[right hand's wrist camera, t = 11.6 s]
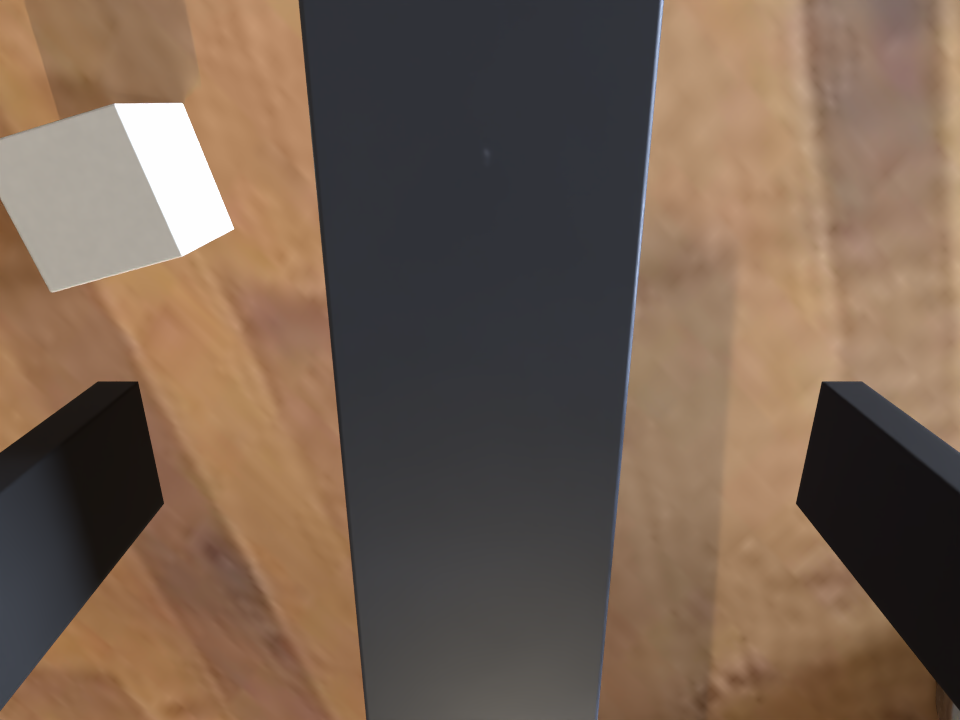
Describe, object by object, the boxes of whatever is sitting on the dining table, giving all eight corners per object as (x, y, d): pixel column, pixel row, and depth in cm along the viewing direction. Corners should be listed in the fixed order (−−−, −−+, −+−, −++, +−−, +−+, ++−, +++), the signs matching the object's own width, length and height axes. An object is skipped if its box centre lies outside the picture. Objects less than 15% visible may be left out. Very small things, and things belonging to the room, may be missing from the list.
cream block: (182, 102, 25) (114, 102, 20) (234, 229, 27) (183, 256, 22) (64, 138, 25) (-29, 146, 21) (123, 260, 27) (49, 293, 22)
